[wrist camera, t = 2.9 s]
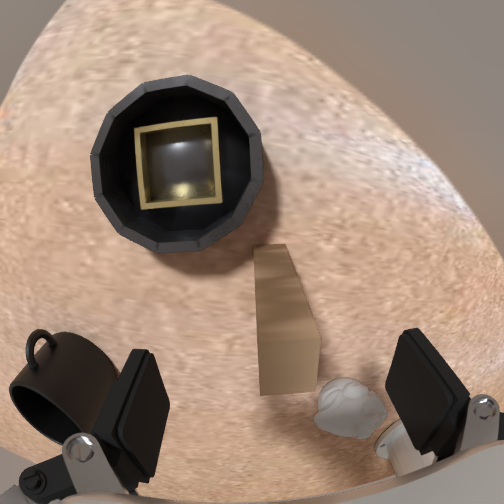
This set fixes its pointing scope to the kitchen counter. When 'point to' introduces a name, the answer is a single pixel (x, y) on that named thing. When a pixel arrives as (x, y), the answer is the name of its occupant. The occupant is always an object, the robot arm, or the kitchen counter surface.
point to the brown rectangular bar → (283, 325)
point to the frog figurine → (349, 409)
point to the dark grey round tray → (177, 164)
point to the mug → (62, 385)
